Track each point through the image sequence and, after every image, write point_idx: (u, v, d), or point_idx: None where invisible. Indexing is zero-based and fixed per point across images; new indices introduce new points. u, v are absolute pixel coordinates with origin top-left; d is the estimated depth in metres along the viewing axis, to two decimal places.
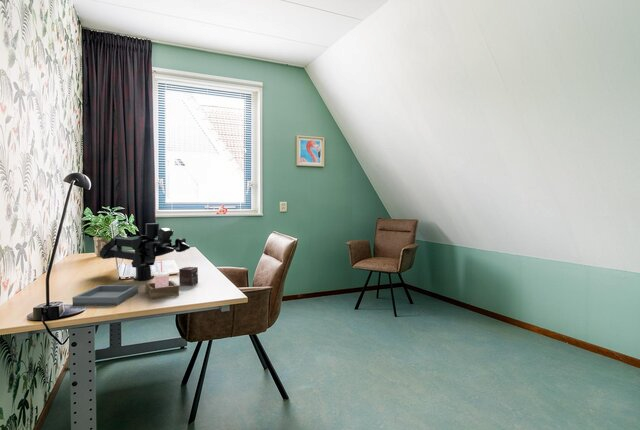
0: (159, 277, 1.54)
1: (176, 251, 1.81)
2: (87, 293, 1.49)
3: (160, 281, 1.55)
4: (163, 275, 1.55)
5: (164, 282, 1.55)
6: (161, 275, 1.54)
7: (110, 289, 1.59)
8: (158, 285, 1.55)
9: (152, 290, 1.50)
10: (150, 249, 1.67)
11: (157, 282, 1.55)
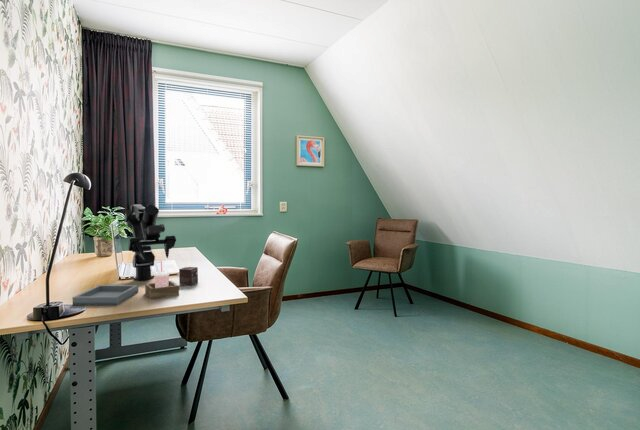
0: (159, 277, 1.54)
1: (164, 244, 1.73)
2: (87, 293, 1.49)
3: (160, 281, 1.55)
4: (163, 275, 1.55)
5: (164, 282, 1.55)
6: (161, 275, 1.54)
7: (110, 289, 1.59)
8: (158, 285, 1.55)
9: (152, 290, 1.50)
10: (128, 243, 1.62)
11: (157, 282, 1.55)
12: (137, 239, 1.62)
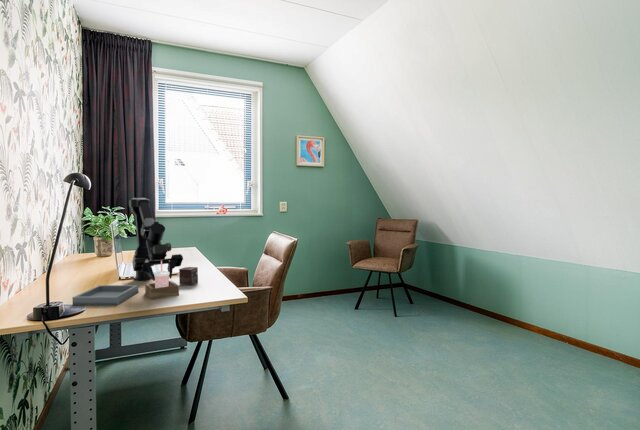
0: (159, 277, 1.54)
1: None
2: (87, 293, 1.49)
3: (160, 281, 1.55)
4: (163, 275, 1.55)
5: (164, 282, 1.55)
6: (161, 275, 1.54)
7: (110, 289, 1.59)
8: (158, 285, 1.55)
9: (152, 290, 1.50)
10: (133, 263, 1.55)
11: (157, 282, 1.55)
12: (143, 259, 1.55)
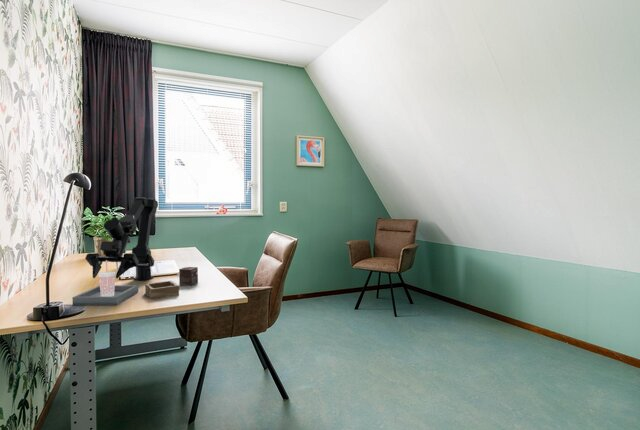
0: (100, 277, 1.48)
1: None
2: (87, 293, 1.49)
3: (101, 282, 1.48)
4: (103, 276, 1.48)
5: (104, 284, 1.48)
6: (101, 276, 1.48)
7: None
8: (100, 286, 1.49)
9: (152, 290, 1.50)
10: None
11: (99, 282, 1.49)
12: (92, 255, 1.52)
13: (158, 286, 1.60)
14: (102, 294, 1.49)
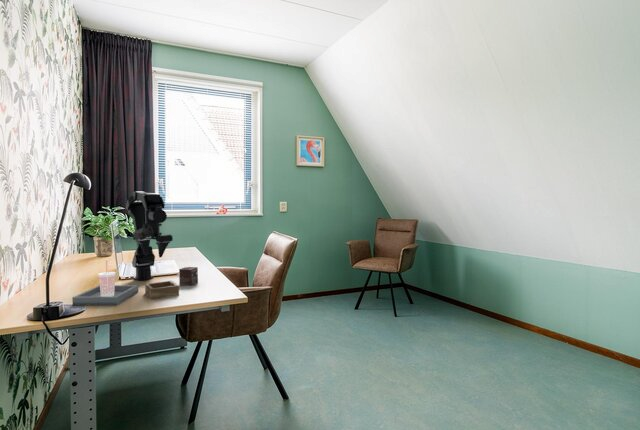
0: (100, 277, 1.48)
1: None
2: (87, 293, 1.49)
3: (101, 282, 1.48)
4: (103, 276, 1.48)
5: (104, 284, 1.48)
6: (101, 276, 1.48)
7: None
8: (100, 286, 1.49)
9: (152, 290, 1.50)
10: None
11: (99, 282, 1.49)
12: None
13: (158, 286, 1.60)
14: (102, 294, 1.49)
